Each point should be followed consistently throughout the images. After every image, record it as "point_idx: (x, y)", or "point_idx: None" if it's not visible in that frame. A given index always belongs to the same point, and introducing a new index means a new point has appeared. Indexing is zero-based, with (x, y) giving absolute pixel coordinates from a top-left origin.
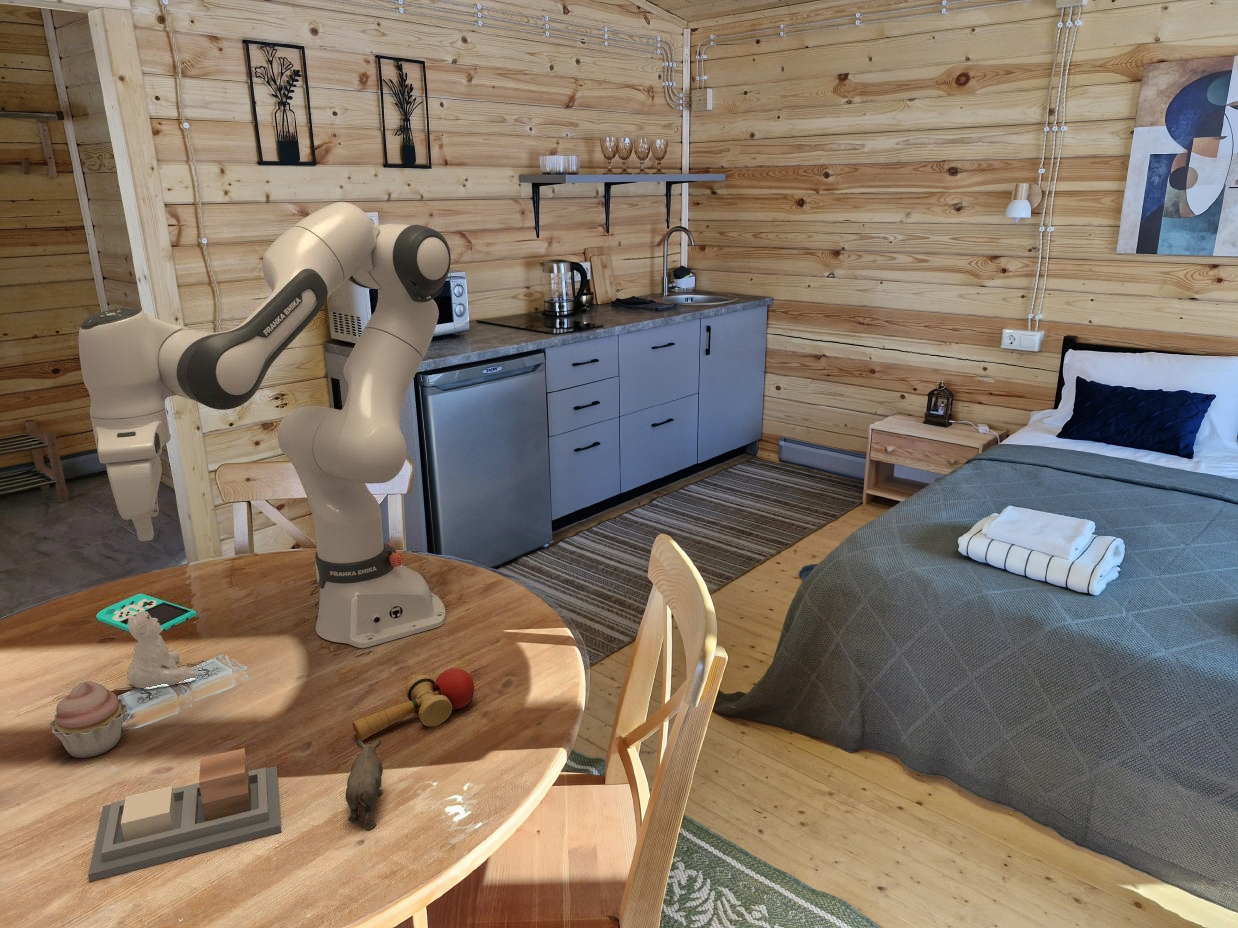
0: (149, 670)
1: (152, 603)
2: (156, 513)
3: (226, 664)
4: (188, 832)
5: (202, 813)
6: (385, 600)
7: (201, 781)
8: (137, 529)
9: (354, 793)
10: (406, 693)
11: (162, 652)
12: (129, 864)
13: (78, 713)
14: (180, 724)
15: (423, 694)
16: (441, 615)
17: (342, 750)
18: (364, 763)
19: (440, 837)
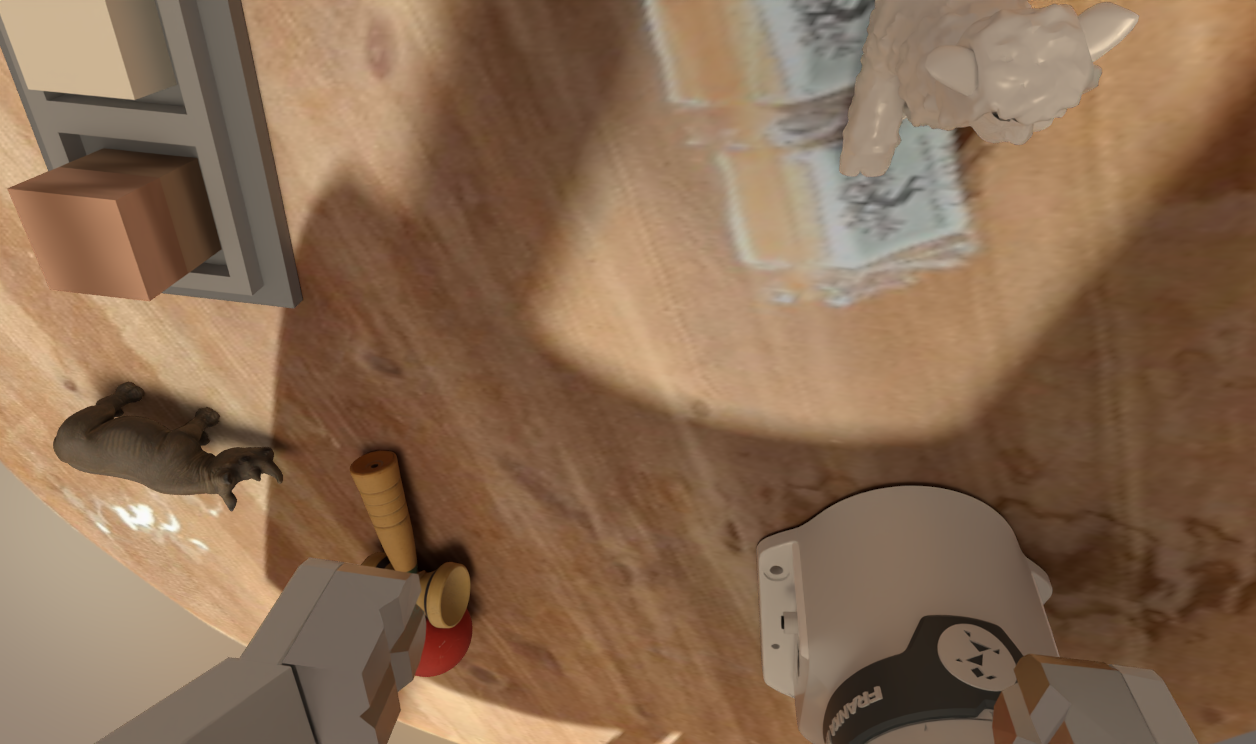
0: (884, 39)
1: None
2: (1000, 739)
3: (895, 256)
4: (35, 115)
5: (143, 143)
6: (802, 680)
7: (13, 194)
8: (230, 665)
9: (56, 436)
10: (439, 573)
11: (910, 108)
12: None
13: None
14: (599, 105)
15: None
16: (793, 692)
17: (350, 419)
18: (130, 475)
19: (76, 481)
